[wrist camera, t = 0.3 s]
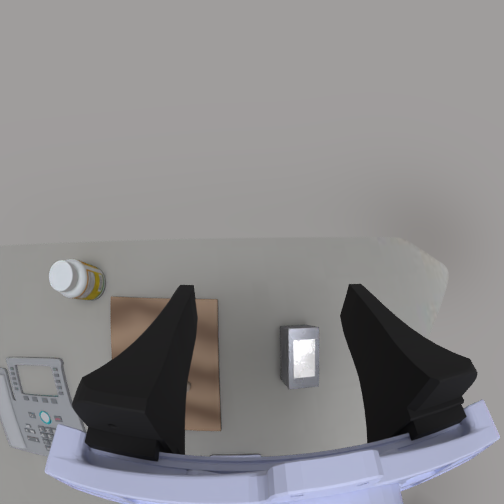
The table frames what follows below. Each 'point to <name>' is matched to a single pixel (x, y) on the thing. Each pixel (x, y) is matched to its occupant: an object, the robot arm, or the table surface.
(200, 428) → the pin tray
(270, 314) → the table surface
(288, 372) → the block
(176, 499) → the robot arm
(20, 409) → the office telephone
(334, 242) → the table surface
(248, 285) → the table surface
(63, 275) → the supplement bottle
